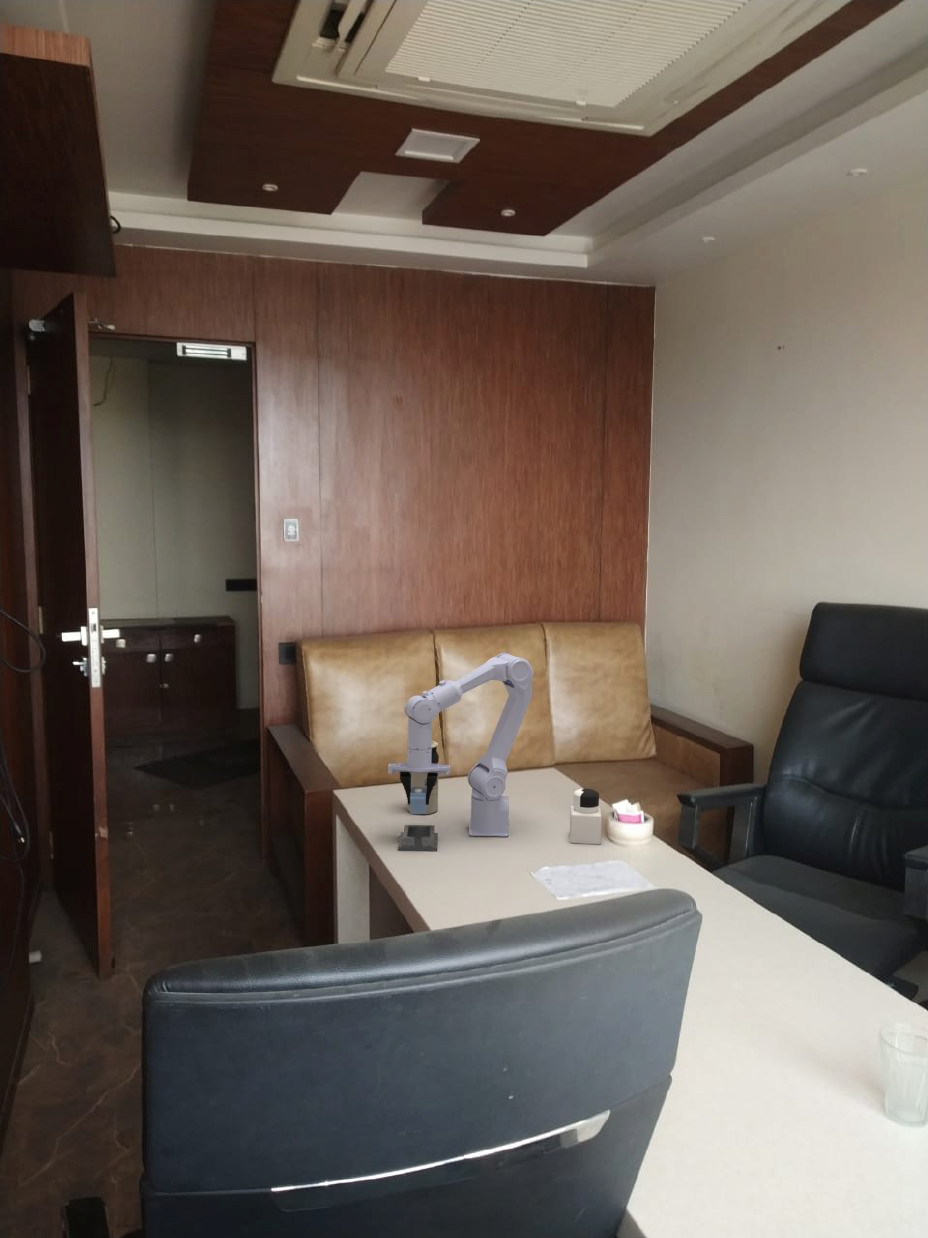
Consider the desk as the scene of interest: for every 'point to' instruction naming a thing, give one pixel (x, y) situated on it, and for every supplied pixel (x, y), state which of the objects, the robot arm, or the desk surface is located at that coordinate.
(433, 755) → the travel mug
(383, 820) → the desk surface
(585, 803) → the grey rotary knob pedestal
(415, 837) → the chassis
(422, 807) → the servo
